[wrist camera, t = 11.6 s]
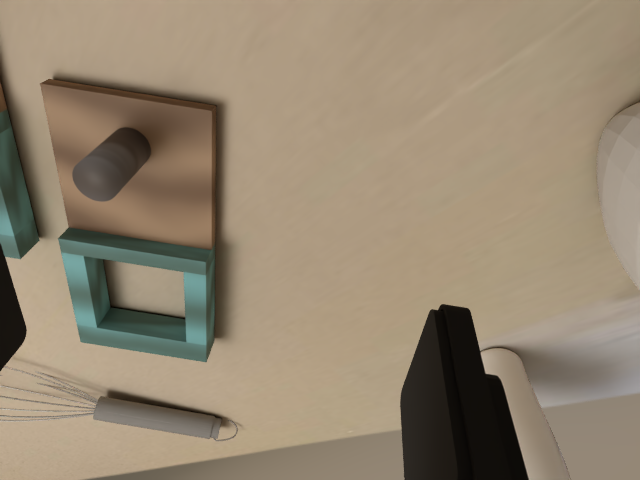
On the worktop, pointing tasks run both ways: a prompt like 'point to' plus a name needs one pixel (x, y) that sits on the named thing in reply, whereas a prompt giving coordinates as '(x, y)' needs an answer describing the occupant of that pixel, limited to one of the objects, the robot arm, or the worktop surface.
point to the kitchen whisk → (134, 414)
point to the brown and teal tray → (13, 195)
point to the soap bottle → (622, 187)
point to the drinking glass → (527, 417)
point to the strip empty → (136, 209)
